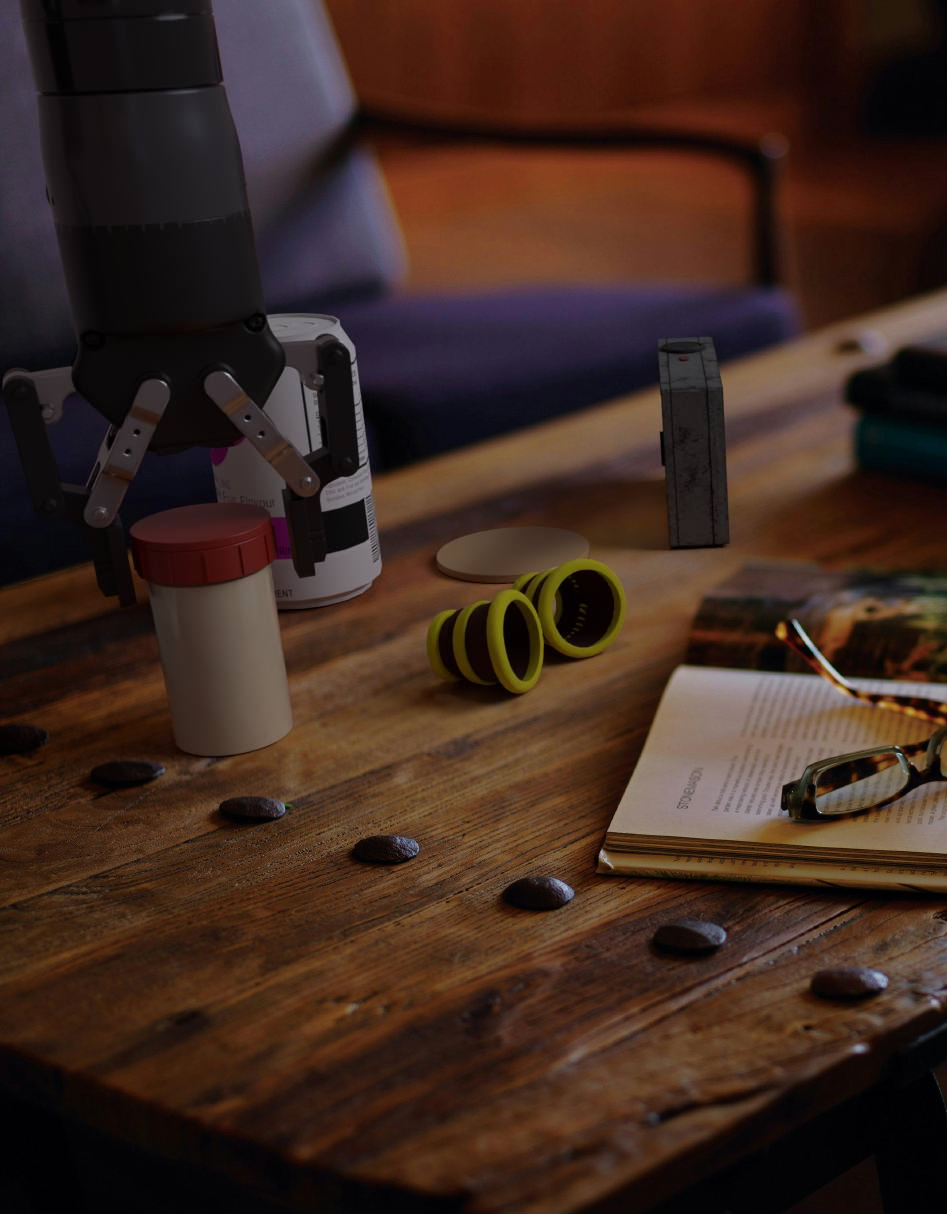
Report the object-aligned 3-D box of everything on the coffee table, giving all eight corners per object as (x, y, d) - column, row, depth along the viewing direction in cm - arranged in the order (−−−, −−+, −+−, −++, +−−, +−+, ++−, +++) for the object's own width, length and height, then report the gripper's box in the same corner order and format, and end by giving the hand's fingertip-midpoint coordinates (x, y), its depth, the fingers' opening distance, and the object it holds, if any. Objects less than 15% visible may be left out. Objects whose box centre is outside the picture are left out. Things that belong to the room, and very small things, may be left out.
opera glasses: (561, 640, 86) (540, 550, 85) (638, 639, 83) (617, 546, 82) (431, 706, 79) (406, 608, 77) (511, 708, 76) (485, 606, 75)
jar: (161, 760, 72) (123, 555, 69) (191, 712, 77) (158, 517, 73) (281, 752, 72) (250, 548, 69) (304, 705, 77) (275, 512, 74)
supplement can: (252, 624, 87) (209, 347, 82) (221, 580, 94) (179, 322, 89) (400, 595, 91) (368, 328, 86) (360, 555, 98) (328, 306, 93)
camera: (662, 475, 113) (654, 331, 109) (719, 472, 113) (712, 329, 110) (666, 550, 97) (657, 386, 94) (732, 546, 98) (725, 383, 94)
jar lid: (119, 589, 69) (111, 546, 68) (157, 545, 74) (151, 505, 73) (260, 581, 69) (254, 539, 69) (288, 539, 75) (282, 499, 74)
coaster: (428, 587, 92) (427, 578, 92) (445, 537, 101) (445, 530, 101) (587, 578, 93) (587, 570, 93) (592, 530, 101) (591, 522, 101)
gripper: (-46, 232, 60) (45, 646, 66) (348, 199, 66) (399, 584, 72) (-42, 211, 67) (40, 590, 73) (317, 183, 72) (366, 537, 78)
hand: (218, 586), depth 72 cm, fingers open, 7 cm apart
